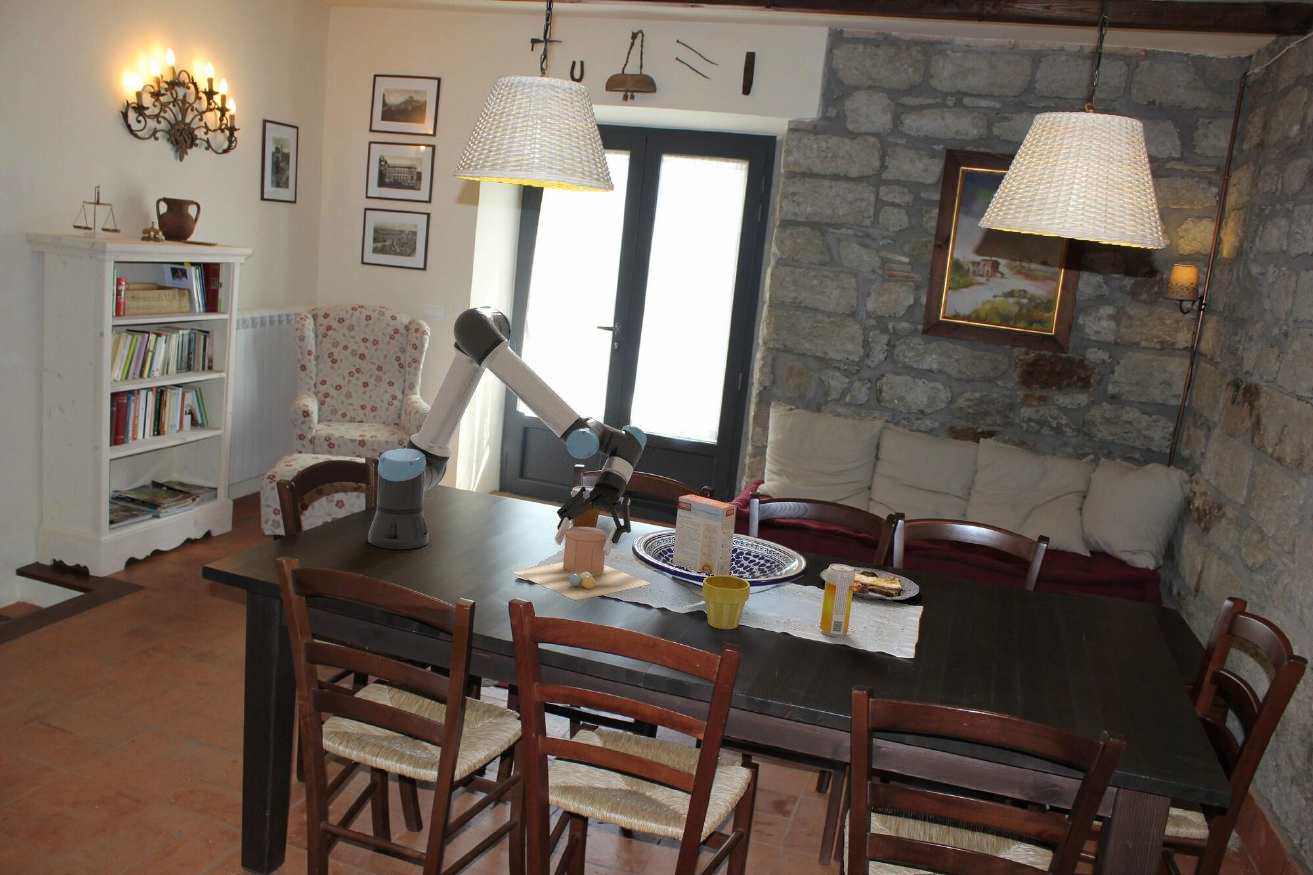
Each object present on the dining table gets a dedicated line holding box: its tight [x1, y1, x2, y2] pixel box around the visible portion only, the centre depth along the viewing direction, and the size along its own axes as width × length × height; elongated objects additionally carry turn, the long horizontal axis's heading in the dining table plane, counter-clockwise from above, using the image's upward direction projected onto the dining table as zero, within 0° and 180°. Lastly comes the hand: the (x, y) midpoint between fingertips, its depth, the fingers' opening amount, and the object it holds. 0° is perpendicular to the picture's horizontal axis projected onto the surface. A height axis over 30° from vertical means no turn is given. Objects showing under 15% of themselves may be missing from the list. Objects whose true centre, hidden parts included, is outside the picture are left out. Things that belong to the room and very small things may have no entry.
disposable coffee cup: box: [570, 485, 600, 528], centre depth 284 cm, size 10×10×12 cm
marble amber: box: [582, 576, 595, 589], centre depth 232 cm, size 3×3×3 cm
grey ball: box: [569, 574, 582, 587], centre depth 233 cm, size 3×3×3 cm
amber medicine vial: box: [819, 563, 855, 638], centre depth 218 cm, size 6×6×15 cm
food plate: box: [818, 566, 920, 601], centre depth 255 cm, size 25×23×4 cm
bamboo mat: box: [511, 561, 652, 602], centre depth 240 cm, size 24×24×1 cm
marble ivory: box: [580, 572, 592, 583], centre depth 235 cm, size 3×3×3 cm
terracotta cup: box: [563, 526, 608, 574], centre depth 247 cm, size 10×10×9 cm
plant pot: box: [701, 575, 751, 630], centre depth 217 cm, size 10×10×10 cm
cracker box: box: [671, 494, 737, 576], centre depth 245 cm, size 14×6×21 cm, turn 50°
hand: (581, 547), depth 245 cm, fingers open, 13 cm apart
